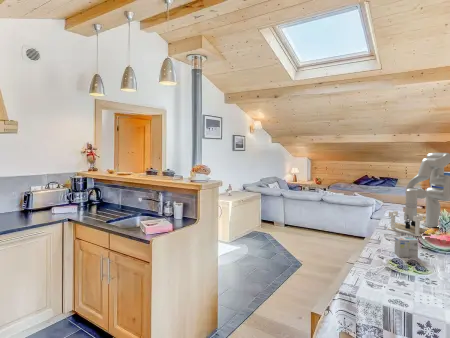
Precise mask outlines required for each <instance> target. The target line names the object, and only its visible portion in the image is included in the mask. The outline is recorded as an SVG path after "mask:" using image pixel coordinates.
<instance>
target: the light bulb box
mask: <svg viewBox="0 0 450 338" xmlns="http://www.w3.org/2000/svg"><path fill="white" fill-rule="evenodd" d="M394 254H395V255H396V256H397V257H399V258H414V259H415V258H418V256H419V239H417V238H415V236H394Z"/></svg>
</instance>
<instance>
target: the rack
mask: <svg viewBox="0 0 450 338" xmlns="http://www.w3.org/2000/svg"><path fill="white" fill-rule="evenodd" d="M398 216H399V211H397V210H393V211H388V217H390V227H387V230H389V231H393V232H399V233H402V234H408V235H411V236H412V237H417V236H419V235H421V234H420V233H419V231H420V228H421V227H420V226H421V221H423V218H424V216H423V215H421V214H417V217H416V216H413V221H415V233H414V232H410V231H406V230H402V229H398V228H395V223H396V217H398Z"/></svg>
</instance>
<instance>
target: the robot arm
mask: <svg viewBox="0 0 450 338" xmlns="http://www.w3.org/2000/svg"><path fill="white" fill-rule="evenodd" d="M449 164H450V153H449V152H430V153H428V154H427V155H426V157H425V158H423V159H422V160H421V162H420V166H419V169H418V170H417V171H418V172H417V175H415V176H414V177H413V178H411V179H410V180H409V181H408V183H407V185H406V187H405V207H404V213H403V221H404V224H405V228H406V229H410V226H415V221H413V216H416V217H418V209H417V208H418V199H420V200H421V199H422V200H423V199H425V202H426V203H425V204H426V205H425V222H424V223H422V224H423V226H424V227H427V228H432V227H437V226H438V219H439V216H440V217H441V203H440V201H443V202H449V201H450V175H446V174H445V167H446V166H448V165H449ZM427 180H429V184H430V186H432V187H428V188H426V189H423V188H417V187H415V186H416V185H417V184H419V183H421V182H424V181H427Z"/></svg>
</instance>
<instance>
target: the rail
mask: <svg viewBox="0 0 450 338" xmlns="http://www.w3.org/2000/svg"><path fill="white" fill-rule="evenodd" d="M395 228H398V229H400V230H404V231H409V232H413V233H415V226H411V225H410V229H406V228H405V223H401V222H395ZM427 230H430V229H427V228H424V227H423V228H422V227H420V231H419V233H420V234H422V233H424V232H425V231H427Z"/></svg>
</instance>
